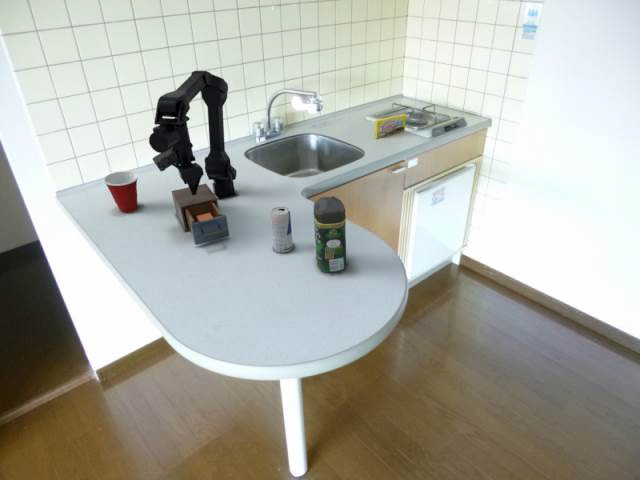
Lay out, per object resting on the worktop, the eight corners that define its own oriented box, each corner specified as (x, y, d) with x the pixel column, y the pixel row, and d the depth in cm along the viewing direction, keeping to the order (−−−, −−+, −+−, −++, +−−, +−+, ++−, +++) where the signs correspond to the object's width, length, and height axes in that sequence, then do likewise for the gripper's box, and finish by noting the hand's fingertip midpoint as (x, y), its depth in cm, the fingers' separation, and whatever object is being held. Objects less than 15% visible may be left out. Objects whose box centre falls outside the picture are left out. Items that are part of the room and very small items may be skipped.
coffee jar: (314, 255, 129) (311, 195, 120) (342, 252, 130) (341, 192, 120) (318, 275, 121) (315, 212, 111) (348, 272, 122) (348, 209, 112)
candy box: (376, 139, 209) (377, 121, 205) (374, 138, 211) (374, 120, 207) (405, 132, 216) (406, 114, 212) (402, 131, 218) (403, 113, 213)
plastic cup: (135, 217, 153) (126, 184, 147) (106, 215, 155) (95, 182, 149) (152, 202, 162) (144, 170, 156) (124, 201, 164) (115, 169, 158)
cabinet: (221, 222, 148) (217, 198, 144) (185, 231, 144) (180, 207, 139) (210, 206, 158) (205, 183, 154) (176, 214, 154) (171, 191, 150)
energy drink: (295, 244, 135) (292, 207, 128) (288, 254, 130) (285, 216, 124) (278, 242, 136) (275, 205, 130) (271, 251, 132) (267, 214, 126)
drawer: (234, 243, 135) (231, 223, 132) (199, 252, 131) (195, 232, 128) (217, 219, 148) (214, 200, 145) (186, 227, 144) (181, 207, 141)
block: (212, 224, 143) (209, 212, 141) (215, 230, 140) (213, 218, 138) (198, 228, 141) (196, 215, 139) (202, 234, 138) (199, 221, 136)
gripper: (145, 136, 138) (157, 184, 147) (158, 156, 124) (170, 208, 132) (182, 129, 143) (192, 176, 151) (199, 147, 128) (208, 198, 137)
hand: (190, 189), depth 143 cm, fingers open, 9 cm apart
